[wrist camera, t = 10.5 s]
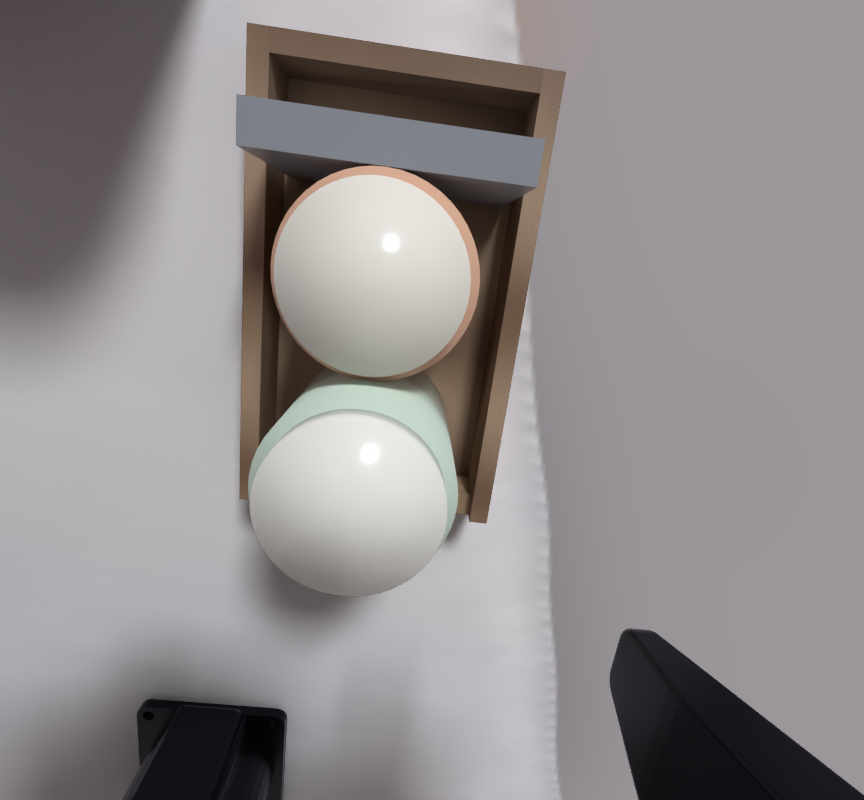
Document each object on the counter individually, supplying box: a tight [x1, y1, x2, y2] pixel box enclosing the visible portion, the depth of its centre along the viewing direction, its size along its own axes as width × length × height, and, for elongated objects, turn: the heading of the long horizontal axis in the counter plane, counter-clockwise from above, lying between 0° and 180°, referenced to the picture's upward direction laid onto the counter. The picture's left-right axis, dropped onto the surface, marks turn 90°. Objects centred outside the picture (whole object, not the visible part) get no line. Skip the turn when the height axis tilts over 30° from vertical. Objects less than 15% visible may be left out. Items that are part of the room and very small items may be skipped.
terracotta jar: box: [270, 166, 480, 381], centre depth 14 cm, size 5×5×6 cm
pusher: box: [236, 94, 545, 207], centre depth 13 cm, size 1×7×5 cm, turn 83°
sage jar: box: [248, 367, 458, 596], centre depth 14 cm, size 5×5×6 cm
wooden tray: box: [240, 23, 566, 523], centre depth 16 cm, size 14×9×2 cm, turn 173°
